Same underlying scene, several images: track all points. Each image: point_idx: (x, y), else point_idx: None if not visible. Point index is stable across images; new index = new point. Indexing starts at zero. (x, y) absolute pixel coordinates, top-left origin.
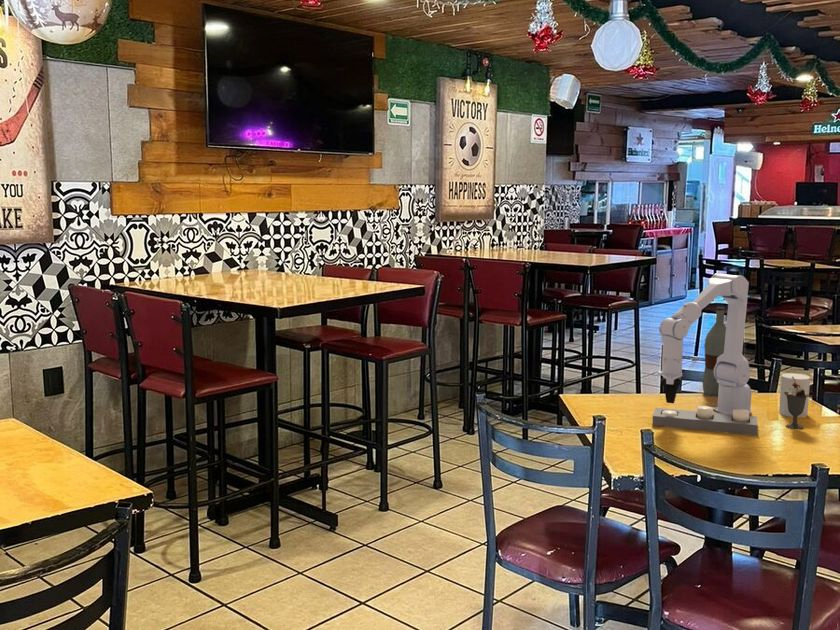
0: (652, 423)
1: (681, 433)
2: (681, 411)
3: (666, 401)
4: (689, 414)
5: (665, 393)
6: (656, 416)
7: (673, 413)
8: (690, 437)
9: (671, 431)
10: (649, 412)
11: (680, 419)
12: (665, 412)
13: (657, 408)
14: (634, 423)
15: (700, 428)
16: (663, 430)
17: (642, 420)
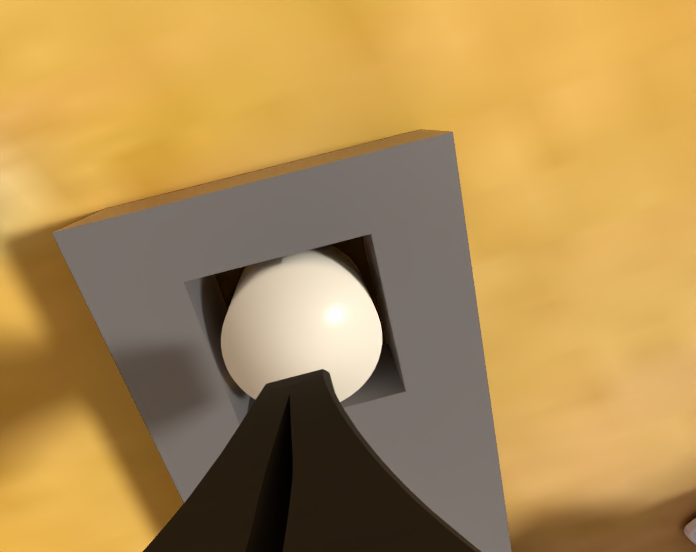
0: (92, 214)
1: (62, 466)
2: (427, 406)
3: (263, 389)
4: None
5: (192, 492)
6: (71, 272)
7: None
8: (12, 538)
9: (56, 396)
10: (571, 13)
11: (173, 471)
12: (272, 310)
13: (424, 165)
14: (44, 10)
15: None
16: (32, 339)
17: (223, 52)
